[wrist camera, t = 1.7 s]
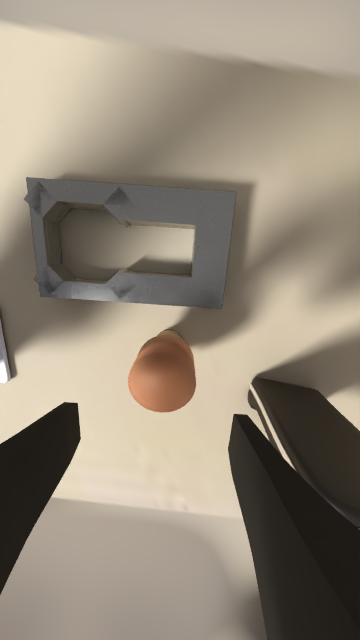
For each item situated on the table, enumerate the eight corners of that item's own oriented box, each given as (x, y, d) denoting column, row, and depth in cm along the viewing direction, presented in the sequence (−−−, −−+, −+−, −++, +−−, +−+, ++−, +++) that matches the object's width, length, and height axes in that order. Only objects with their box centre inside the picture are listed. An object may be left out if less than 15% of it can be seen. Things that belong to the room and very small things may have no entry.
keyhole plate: (51, 292, 18) (35, 296, 16) (40, 186, 16) (21, 176, 14) (217, 303, 18) (221, 308, 16) (230, 199, 16) (236, 191, 14)
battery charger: (238, 407, 21) (297, 568, 10) (249, 374, 20) (329, 514, 9) (305, 420, 21) (432, 590, 10) (319, 388, 20) (478, 540, 9)
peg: (145, 362, 20) (128, 410, 14) (146, 319, 19) (128, 350, 13) (190, 365, 20) (192, 414, 14) (193, 323, 19) (198, 355, 13)
